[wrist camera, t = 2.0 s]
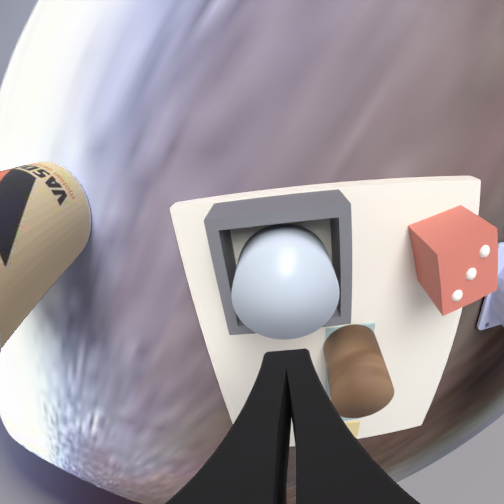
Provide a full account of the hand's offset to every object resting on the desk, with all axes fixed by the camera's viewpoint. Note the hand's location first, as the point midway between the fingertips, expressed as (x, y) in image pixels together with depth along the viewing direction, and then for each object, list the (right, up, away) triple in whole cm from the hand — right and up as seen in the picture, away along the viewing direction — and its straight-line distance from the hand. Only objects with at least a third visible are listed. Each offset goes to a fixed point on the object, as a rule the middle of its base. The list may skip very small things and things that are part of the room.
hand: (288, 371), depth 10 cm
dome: (+1, +3, +7) cm, 7 cm away
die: (+10, +4, +7) cm, 14 cm away
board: (+5, -3, +13) cm, 14 cm away
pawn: (+6, -3, +11) cm, 12 cm away
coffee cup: (-16, +7, +10) cm, 20 cm away
